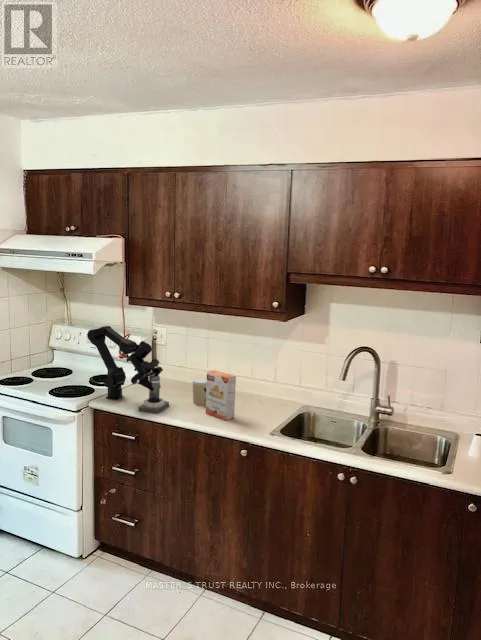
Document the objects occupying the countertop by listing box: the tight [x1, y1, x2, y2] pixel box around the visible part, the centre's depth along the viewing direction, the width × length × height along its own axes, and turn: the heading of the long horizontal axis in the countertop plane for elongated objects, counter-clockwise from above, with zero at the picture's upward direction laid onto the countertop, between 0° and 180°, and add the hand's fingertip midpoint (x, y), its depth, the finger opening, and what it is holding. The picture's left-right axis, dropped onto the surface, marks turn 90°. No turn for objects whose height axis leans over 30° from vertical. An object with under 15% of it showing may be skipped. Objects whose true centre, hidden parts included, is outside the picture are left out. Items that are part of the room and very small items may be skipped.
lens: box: [148, 376, 161, 403], centre depth 253 cm, size 5×5×13 cm
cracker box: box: [205, 369, 237, 421], centre depth 246 cm, size 14×6×21 cm, turn 49°
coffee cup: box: [192, 377, 207, 407], centre depth 264 cm, size 9×9×12 cm
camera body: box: [138, 397, 170, 415], centre depth 254 cm, size 10×13×4 cm
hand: (156, 389), depth 252 cm, fingers closed on lens, 5 cm apart
